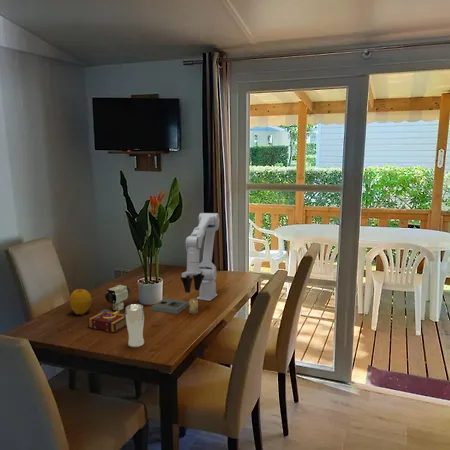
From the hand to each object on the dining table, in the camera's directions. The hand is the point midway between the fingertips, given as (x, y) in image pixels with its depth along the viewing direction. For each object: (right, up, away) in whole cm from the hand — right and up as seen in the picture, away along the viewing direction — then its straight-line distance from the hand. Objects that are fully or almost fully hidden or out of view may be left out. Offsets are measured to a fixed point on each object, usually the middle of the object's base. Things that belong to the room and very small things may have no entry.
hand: (192, 291), depth 184 cm
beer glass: (-19, -16, -29) cm, 39 cm away
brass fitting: (+1, -10, +2) cm, 10 cm away
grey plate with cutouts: (-11, -9, +8) cm, 16 cm away
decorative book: (-35, -13, -11) cm, 39 cm away
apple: (-52, -11, +3) cm, 54 cm away
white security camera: (-36, -10, +6) cm, 38 cm away
